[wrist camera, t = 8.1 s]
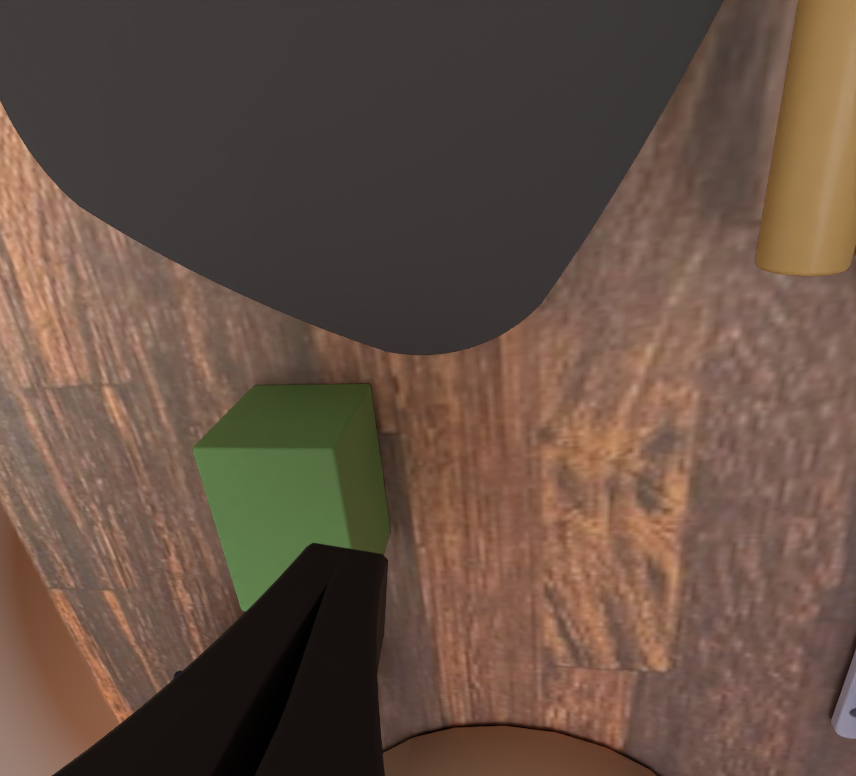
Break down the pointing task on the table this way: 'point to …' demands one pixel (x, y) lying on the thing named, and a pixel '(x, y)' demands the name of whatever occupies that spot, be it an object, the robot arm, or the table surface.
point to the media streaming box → (351, 142)
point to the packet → (293, 479)
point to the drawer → (814, 149)
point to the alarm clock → (505, 755)
